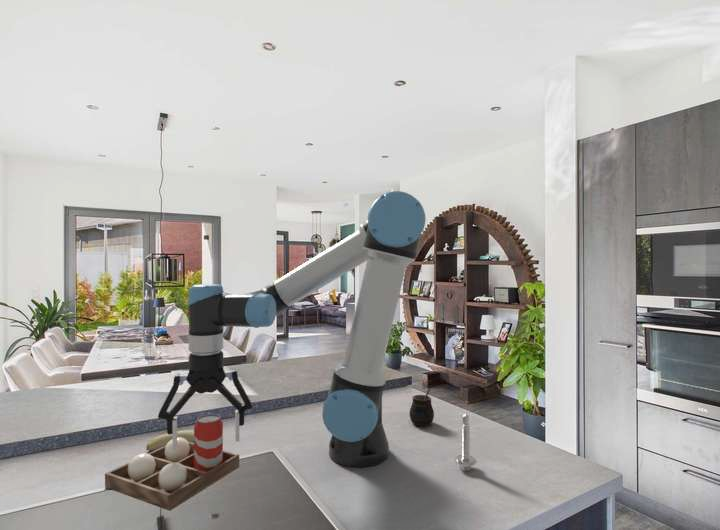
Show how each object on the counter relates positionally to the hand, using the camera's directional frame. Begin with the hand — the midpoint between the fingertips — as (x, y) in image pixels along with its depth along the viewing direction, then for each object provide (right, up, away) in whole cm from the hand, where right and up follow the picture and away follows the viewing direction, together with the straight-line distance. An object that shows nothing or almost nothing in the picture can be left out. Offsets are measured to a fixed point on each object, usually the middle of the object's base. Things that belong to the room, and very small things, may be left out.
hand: (206, 443), depth 101 cm
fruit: (-12, -7, +14) cm, 20 cm away
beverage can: (0, -6, 0) cm, 6 cm away
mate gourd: (+54, -6, +30) cm, 62 cm away
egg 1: (-13, -6, -4) cm, 15 cm away
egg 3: (-4, -6, -8) cm, 11 cm away
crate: (-6, -7, -2) cm, 10 cm away
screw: (+60, -7, +2) cm, 61 cm away
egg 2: (-9, -6, +4) cm, 11 cm away
